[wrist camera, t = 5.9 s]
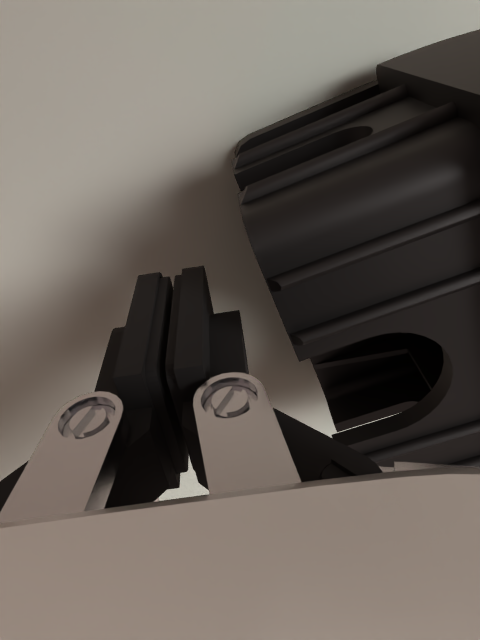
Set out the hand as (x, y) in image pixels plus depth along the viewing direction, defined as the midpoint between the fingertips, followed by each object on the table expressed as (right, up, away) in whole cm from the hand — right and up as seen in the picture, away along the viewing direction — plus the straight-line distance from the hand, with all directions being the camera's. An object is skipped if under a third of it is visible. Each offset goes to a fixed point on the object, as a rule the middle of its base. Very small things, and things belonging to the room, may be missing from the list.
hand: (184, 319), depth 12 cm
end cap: (+6, +3, +3) cm, 7 cm away
